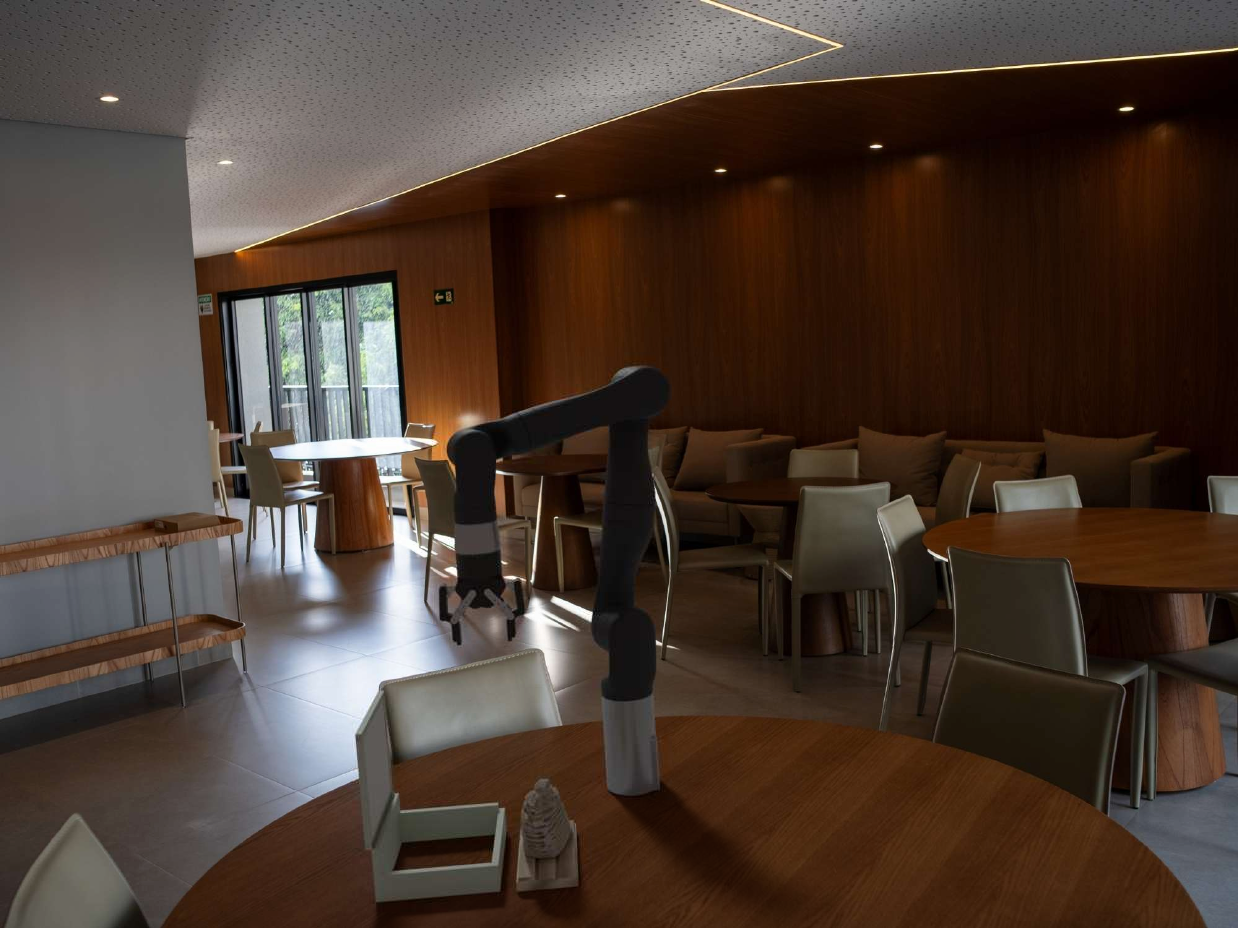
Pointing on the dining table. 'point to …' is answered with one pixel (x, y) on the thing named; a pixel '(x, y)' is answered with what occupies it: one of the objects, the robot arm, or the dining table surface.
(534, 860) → the slatted stand
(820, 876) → the dining table surface
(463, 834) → the cold frame
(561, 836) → the fossil tooth
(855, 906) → the dining table surface
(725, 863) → the dining table surface
